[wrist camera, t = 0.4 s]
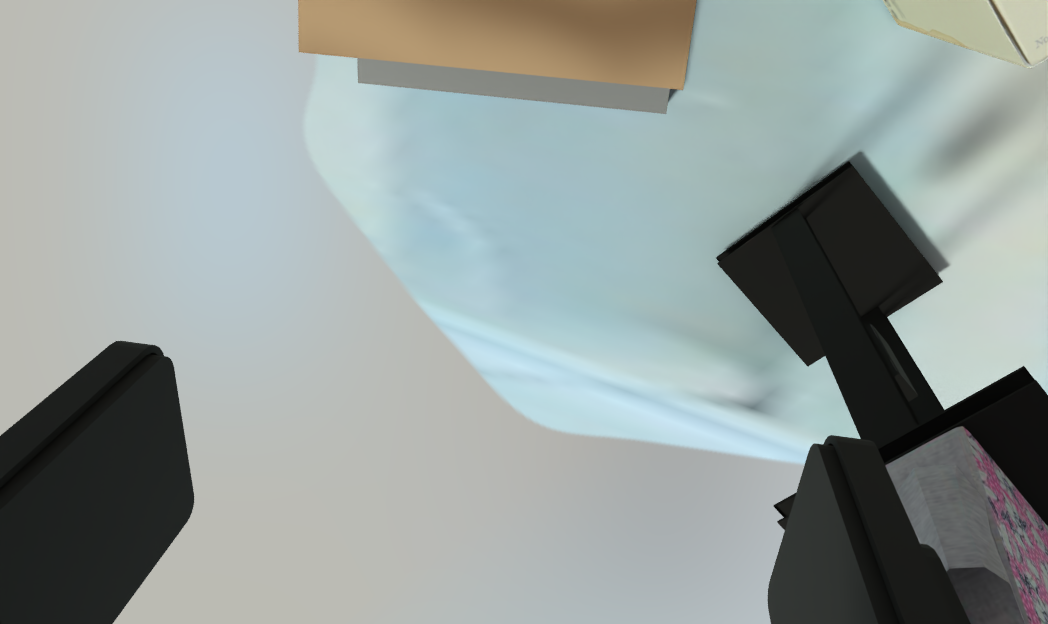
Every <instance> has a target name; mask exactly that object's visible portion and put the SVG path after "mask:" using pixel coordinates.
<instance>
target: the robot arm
mask: <svg viewBox="0 0 1048 624" xmlns="http://www.w3.org/2000/svg"><path fill="white" fill-rule="evenodd" d="M193 505H194V492H193V486H192V480H191V473H190V467H189V460H188V454H187V448H186V441H185V435H184V429H183V422H182V416H181V410H180V404H179V397H178V391H177V384H176V378H175V371H174V366H173V363H172V361H171V359H170V358H168V357H165V356H164V355H163V352H162V350H161V349H160V348H159V347H157V346H155V345H148V344H140V343H133V342H126V341H116V342H114V343H112V344H111V345H109V346H108V347H107V348H106V349H105V350H103V351H102V352H101V353H100V354H99V355H98V356H96V357H95V358H94V359H93V360H92V361H90V362H89V363H88V364H87V365H85V366H84V367H83V368H82V369H81V370H80V371H78V372H77V373H76V374H75V375H74V376H72V377H71V378H70V379H68V380H67V381H66V382H65V383H64V384H63V385H61V386H60V387H59V388H58V389H56V390H55V391H54V392H53V393H52V394H50V395H49V396H48V397H47V398H45V399H44V400H43V401H42V402H41V403H39V404H38V405H37V406H36V407H35V408H33V409H32V410H31V411H30V412H29V413H27V414H26V415H25V416H24V417H23V418H21V419H20V420H19V421H18V422H17V423H16V424H14V425H13V426H12V427H10V428H9V429H8V430H7V431H6V432H4V433H3V434H2V435H1V436H0V624H112V623H113V622H114V621H115V619H116V618H117V617H118V615H119V614H120V613H121V611H122V610H123V609H124V607H125V606H126V604H127V603H128V602H129V600H130V599H131V598H132V596H133V595H134V593H135V592H136V591H137V589H138V588H139V587H140V585H141V584H142V582H143V581H144V580H145V578H146V577H147V576H148V574H149V573H150V572H151V570H152V569H153V567H154V566H155V565H156V563H157V562H158V561H159V559H160V558H161V557H162V555H163V554H164V553H165V551H166V550H167V548H168V547H169V546H170V544H171V543H172V542H173V540H174V539H175V537H176V536H177V535H178V534H179V532H180V531H181V529H182V528H183V526H184V525H185V524H186V523H187V521H188V519H189V518H190V515H191V513H192V509H193ZM768 609H769V615H770V619H771V624H971V623H970V621H969V619H968V617H967V615H966V612H965V610H964V608H963V606H962V604H961V602H960V600H959V598H958V595H957V593H956V591H955V589H954V587H953V585H952V583H951V580H950V578H949V576H948V574H947V572H946V570H945V568H944V565H943V563H942V561H941V559H940V557H939V556H938V554H937V553H936V551H935V550H934V549H933V548H932V547H930V546H929V545H927V544H920V542H919V540H918V538H917V535H916V533H915V531H914V529H913V526H912V524H911V522H910V520H909V518H908V515H907V513H906V511H905V509H904V506H903V504H902V502H901V500H900V497H899V495H898V493H897V491H896V489H895V486H894V484H893V482H892V480H891V477H890V475H889V473H888V471H887V468H886V466H885V464H884V462H883V459H882V457H881V455H880V453H879V451H878V448H877V446H876V445H875V443H874V442H872V441H870V440H863V439H855V438H848V437H840V436H833V435H831V436H828V437H827V439H826V440H825V442H824V445H822V444H813V445H812V446H811V448H810V450H809V453H808V456H807V460H806V463H805V466H804V470H803V473H802V476H801V480H800V483H799V486H798V489H797V493H796V496H795V499H794V503H793V506H792V509H791V512H790V516H789V519H788V522H787V526H786V529H785V533H784V536H783V539H782V542H781V546H780V549H779V552H778V556H777V559H776V562H775V566H774V569H773V572H772V575H771V579H770V583H769V588H768Z"/></svg>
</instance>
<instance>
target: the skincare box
mask: <svg viewBox="0 0 1048 624" xmlns="http://www.w3.org/2000/svg"><path fill="white" fill-rule="evenodd" d="M883 2H884V3H885V5H886V6H887V8H888V10H889V11H890V13H891V14H892V16H893V18H894V19H895V21H896V22H897V24H898V25H900V26H902V27H905V28H908V29H911V30H914V31H917V32H920V33H923V34H926V35H929V36H932V37H935V38H938V39H941V40H944V41H947V42H949V43H953V44H956V45H959V46H962V47H965V48H968V49H971V50H974V51H977V52H980V53H983V54H986V55H989V56H992V57H995V58H999V59H1001V60H1005V61H1008V62H1011V63H1013V64H1017V65H1020V66H1023V67H1026V68H1032V67H1034V66H1036V65H1038V64H1040V63H1042V62H1044V61H1045V60H1047V59H1048V0H883Z"/></svg>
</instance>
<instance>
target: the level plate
mask: <svg viewBox="0 0 1048 624" xmlns="http://www.w3.org/2000/svg"><path fill="white" fill-rule="evenodd" d="M696 1H697V0H298V4H299V5H298V6H299V7H298V9H299V52H303V53H313V54H323V55H333V56H343V57H353V58H364V59H374V60H384V61H394V62H404V63H414V64H425V65H435V66H445V67H455V68H465V69H475V70H486V71H496V72H506V73H516V74H526V75H537V76H547V77H557V78H567V79H577V80H587V81H598V82H608V83H618V84H628V85H638V86H648V87H659V88H669V89H679V90H683V87H684V80H685V74H686V67H687V60H688V54H689V47H690V41H691V34H692V27H693V21H694V14H695V7H696Z"/></svg>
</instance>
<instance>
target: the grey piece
mask: <svg viewBox="0 0 1048 624" xmlns="http://www.w3.org/2000/svg"><path fill="white" fill-rule="evenodd" d="M358 83H365V84H375V85H385V86H395V87H405V88H414V89H424V90H434V91H444V92H454V93H464V94H474V95H484V96H494V97H504V98H514V99H523V100H533V101H543V102H553V103H563V104H573V105H583V106H593V107H603V108H613V109H623V110H633V111H642V112H652V113H662V114H666V111H667V105H668V98H669V92H670V89H669V88H659V87H648V86H638V85H628V84H618V83H608V82H598V81H587V80H577V79H567V78H557V77H547V76H537V75H526V74H516V73H506V72H496V71H486V70H475V69H465V68H455V67H445V66H435V65H425V64H414V63H404V62H394V61H384V60H374V59H364V58H358Z"/></svg>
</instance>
